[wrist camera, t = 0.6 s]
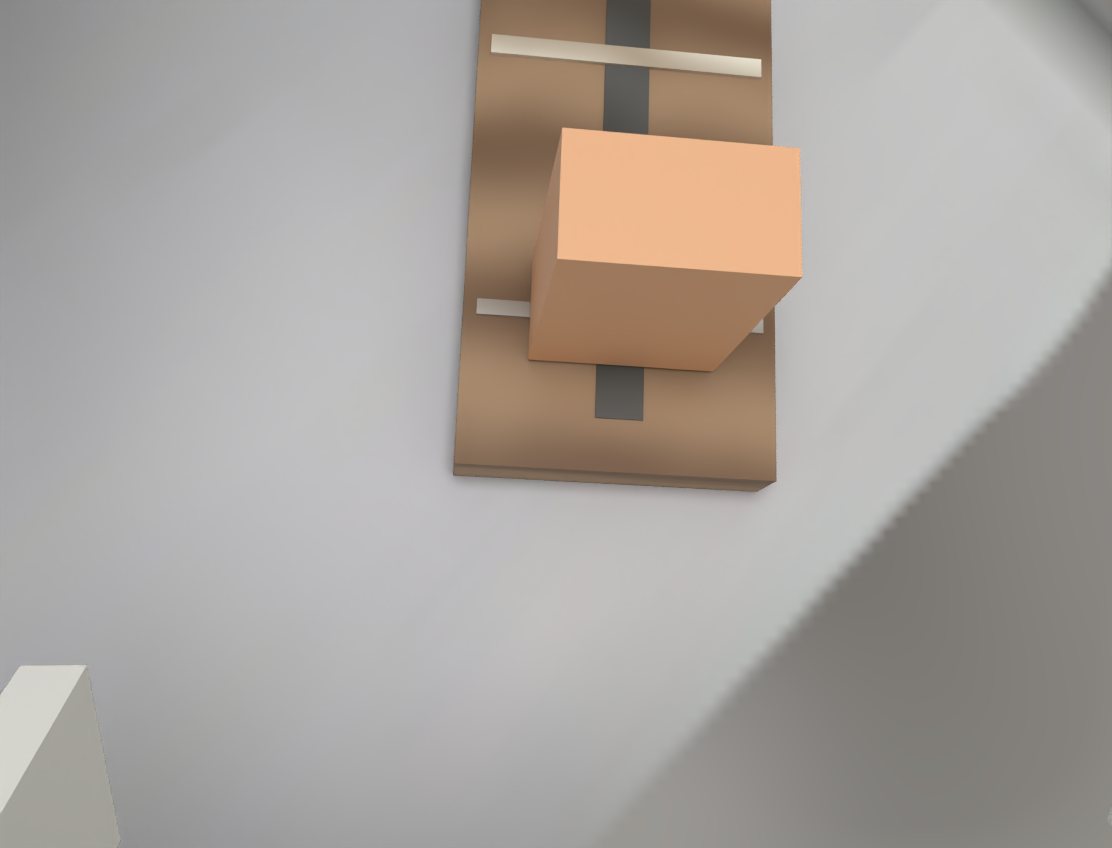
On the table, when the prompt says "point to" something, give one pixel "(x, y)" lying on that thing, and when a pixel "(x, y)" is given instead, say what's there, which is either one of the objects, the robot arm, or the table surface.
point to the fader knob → (661, 248)
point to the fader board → (514, 220)
